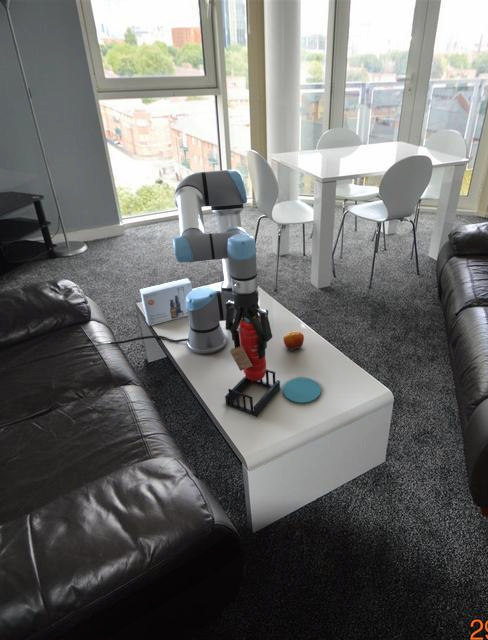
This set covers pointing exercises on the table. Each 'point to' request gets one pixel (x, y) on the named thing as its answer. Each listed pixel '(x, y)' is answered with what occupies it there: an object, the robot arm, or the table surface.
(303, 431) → the table surface
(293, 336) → the fruit
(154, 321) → the skincare box
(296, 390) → the mat
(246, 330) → the water bottle
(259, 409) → the rack
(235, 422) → the table surface
